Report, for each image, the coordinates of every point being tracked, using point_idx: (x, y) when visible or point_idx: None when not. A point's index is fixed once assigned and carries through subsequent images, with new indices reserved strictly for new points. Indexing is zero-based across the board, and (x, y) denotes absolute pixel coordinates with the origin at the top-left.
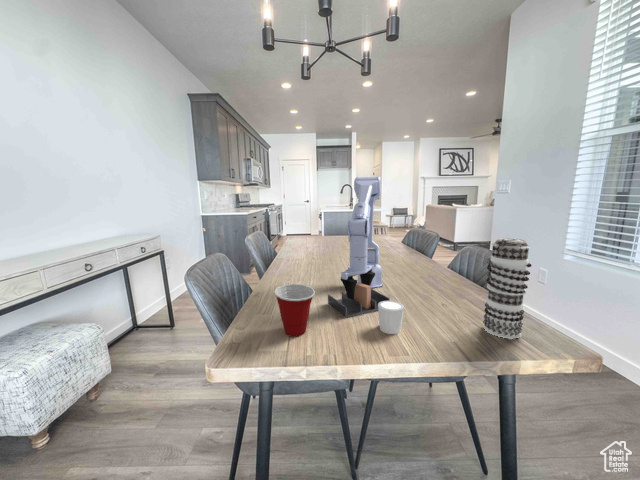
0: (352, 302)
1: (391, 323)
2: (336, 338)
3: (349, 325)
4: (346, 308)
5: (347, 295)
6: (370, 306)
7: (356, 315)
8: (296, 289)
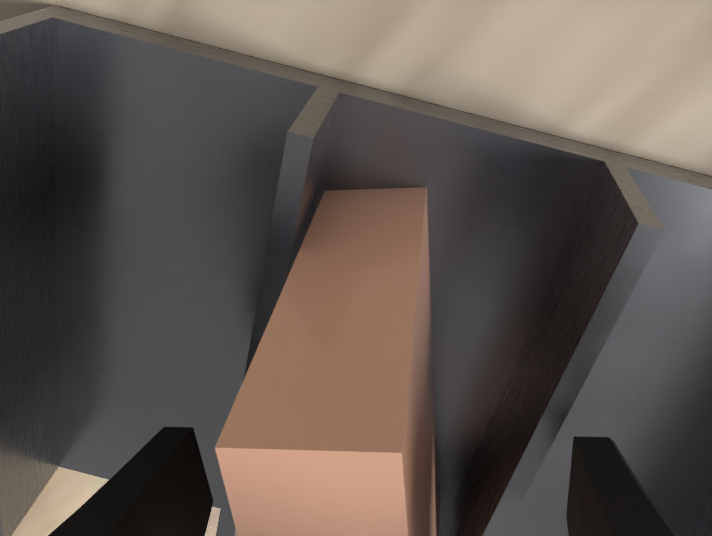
0: None
1: None
2: None
3: (23, 526)
4: (8, 533)
5: (139, 460)
6: (439, 513)
7: None
8: None
